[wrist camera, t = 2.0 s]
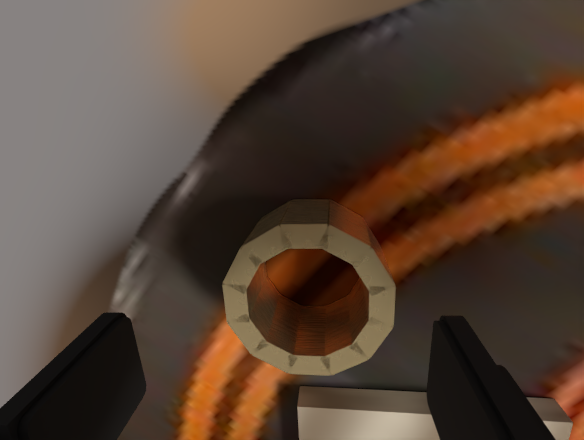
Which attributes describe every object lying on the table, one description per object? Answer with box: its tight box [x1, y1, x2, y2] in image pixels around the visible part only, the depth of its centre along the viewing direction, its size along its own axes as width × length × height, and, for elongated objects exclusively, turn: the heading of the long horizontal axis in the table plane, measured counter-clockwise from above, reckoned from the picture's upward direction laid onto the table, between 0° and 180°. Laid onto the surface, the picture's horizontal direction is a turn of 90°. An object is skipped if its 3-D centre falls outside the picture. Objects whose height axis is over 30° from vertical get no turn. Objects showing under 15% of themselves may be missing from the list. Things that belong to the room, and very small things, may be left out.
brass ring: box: [222, 199, 396, 376], centre depth 16 cm, size 7×7×4 cm
